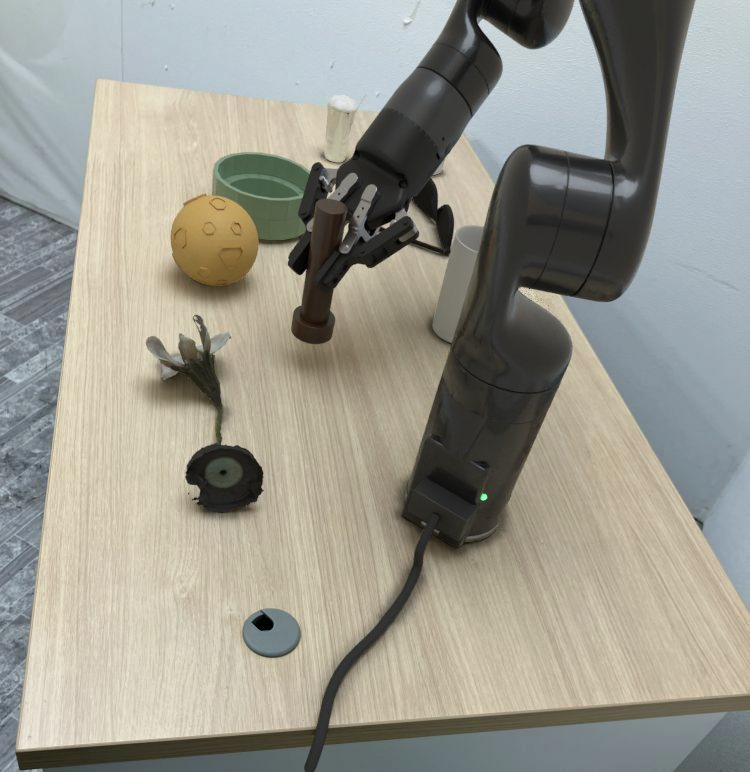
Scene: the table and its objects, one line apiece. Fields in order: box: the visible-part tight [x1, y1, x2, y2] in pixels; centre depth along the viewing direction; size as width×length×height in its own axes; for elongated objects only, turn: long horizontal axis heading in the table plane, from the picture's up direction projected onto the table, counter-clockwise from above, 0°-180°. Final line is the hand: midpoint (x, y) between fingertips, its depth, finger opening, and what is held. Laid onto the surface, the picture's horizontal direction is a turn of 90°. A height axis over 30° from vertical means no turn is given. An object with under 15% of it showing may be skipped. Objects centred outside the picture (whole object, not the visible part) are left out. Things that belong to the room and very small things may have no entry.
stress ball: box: [169, 193, 260, 287], centre depth 92 cm, size 10×10×10 cm
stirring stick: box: [290, 199, 348, 345], centre depth 80 cm, size 4×4×14 cm
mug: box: [431, 224, 484, 344], centre depth 95 cm, size 10×7×12 cm, turn 1°
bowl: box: [211, 151, 311, 241], centre depth 106 cm, size 13×13×6 cm
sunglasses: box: [378, 177, 455, 255], centre depth 112 cm, size 17×14×5 cm
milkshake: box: [323, 94, 367, 163], centre depth 122 cm, size 4×5×10 cm
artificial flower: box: [145, 314, 265, 514], centre depth 75 cm, size 9×22×10 cm, turn 12°
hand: (306, 278), depth 79 cm, fingers closed on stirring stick, 3 cm apart
